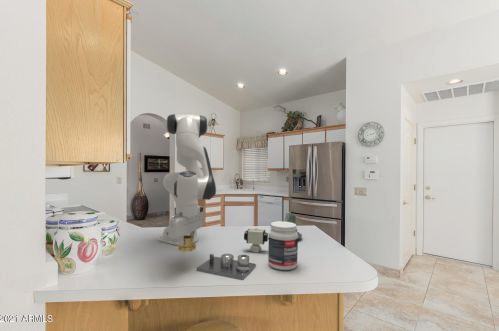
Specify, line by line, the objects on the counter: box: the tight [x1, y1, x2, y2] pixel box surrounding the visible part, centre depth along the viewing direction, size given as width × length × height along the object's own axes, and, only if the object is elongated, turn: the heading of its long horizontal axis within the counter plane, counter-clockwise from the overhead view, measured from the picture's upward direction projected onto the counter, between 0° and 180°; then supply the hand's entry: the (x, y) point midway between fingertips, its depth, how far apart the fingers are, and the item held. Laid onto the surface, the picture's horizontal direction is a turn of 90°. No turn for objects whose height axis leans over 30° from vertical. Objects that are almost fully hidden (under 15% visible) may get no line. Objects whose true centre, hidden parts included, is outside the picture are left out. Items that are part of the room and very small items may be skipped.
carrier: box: [196, 253, 257, 281], centre depth 108 cm, size 21×14×7 cm, turn 68°
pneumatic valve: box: [243, 227, 269, 254], centre depth 130 cm, size 6×12×12 cm, turn 78°
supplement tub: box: [267, 220, 299, 271], centre depth 113 cm, size 13×13×18 cm
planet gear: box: [177, 235, 197, 253], centre depth 107 cm, size 7×7×5 cm
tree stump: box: [268, 212, 303, 241], centre depth 153 cm, size 18×20×18 cm
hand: (186, 243), depth 107 cm, fingers closed on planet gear, 5 cm apart
